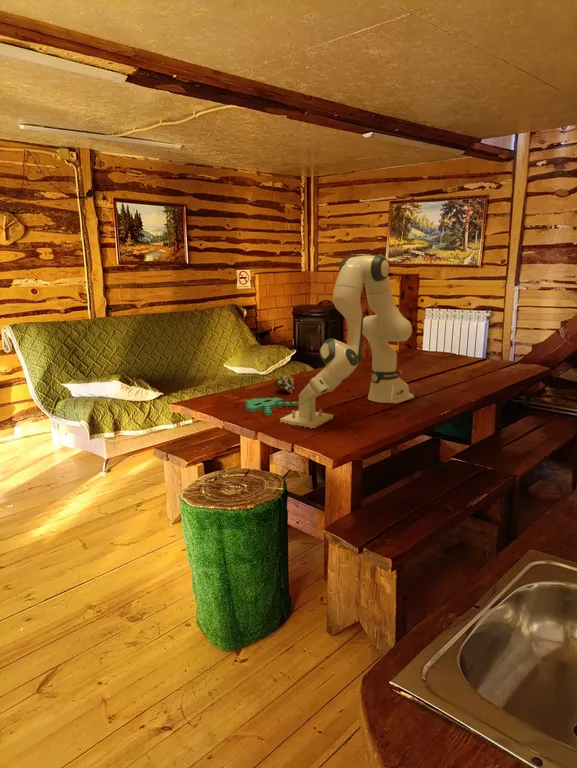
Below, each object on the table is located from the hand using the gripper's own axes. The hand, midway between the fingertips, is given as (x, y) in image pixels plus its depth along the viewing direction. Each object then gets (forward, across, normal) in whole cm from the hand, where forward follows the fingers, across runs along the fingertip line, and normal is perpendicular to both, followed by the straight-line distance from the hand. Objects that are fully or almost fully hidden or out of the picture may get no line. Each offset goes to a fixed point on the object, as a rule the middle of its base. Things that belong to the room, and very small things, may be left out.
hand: (305, 400), depth 227 cm
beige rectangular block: (+4, 0, +5) cm, 7 cm away
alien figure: (+24, -7, -11) cm, 27 cm away
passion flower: (+29, -32, -17) cm, 46 cm away
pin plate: (+6, 0, +6) cm, 8 cm away
